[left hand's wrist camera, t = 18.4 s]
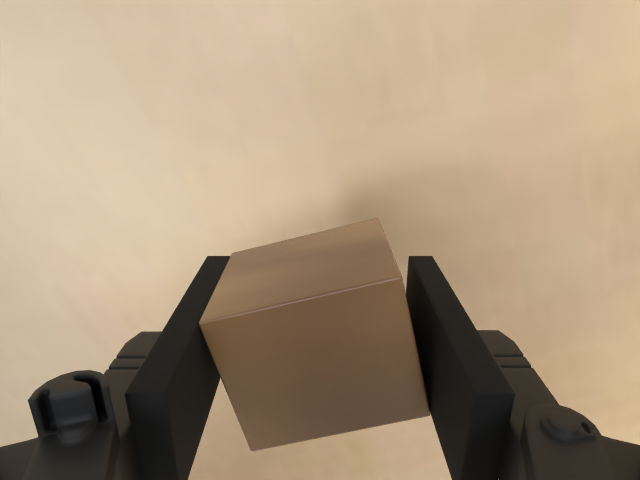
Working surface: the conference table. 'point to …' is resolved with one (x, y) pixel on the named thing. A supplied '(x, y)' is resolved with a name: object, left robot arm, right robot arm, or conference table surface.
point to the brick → (315, 337)
